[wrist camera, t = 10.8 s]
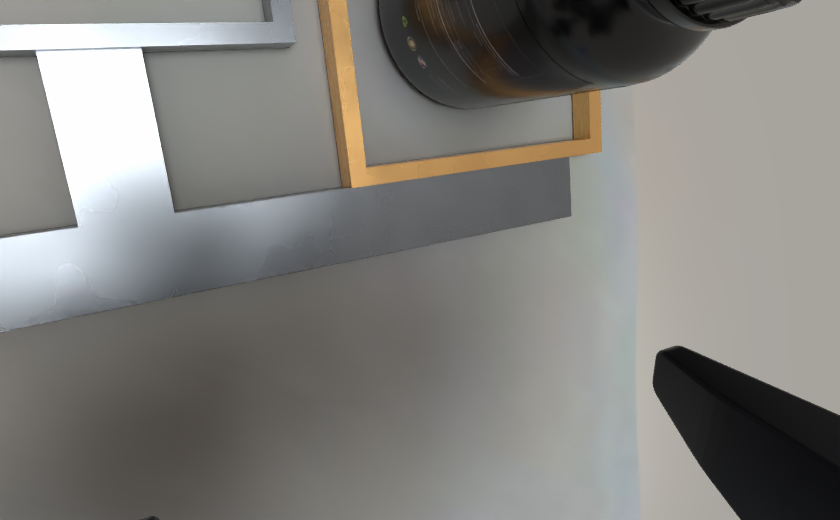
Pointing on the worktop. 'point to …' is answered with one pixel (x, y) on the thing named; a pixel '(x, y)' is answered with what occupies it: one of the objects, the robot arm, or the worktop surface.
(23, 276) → the silver gold metal frame
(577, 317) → the worktop surface
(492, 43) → the supplement bottle
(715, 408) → the robot arm
